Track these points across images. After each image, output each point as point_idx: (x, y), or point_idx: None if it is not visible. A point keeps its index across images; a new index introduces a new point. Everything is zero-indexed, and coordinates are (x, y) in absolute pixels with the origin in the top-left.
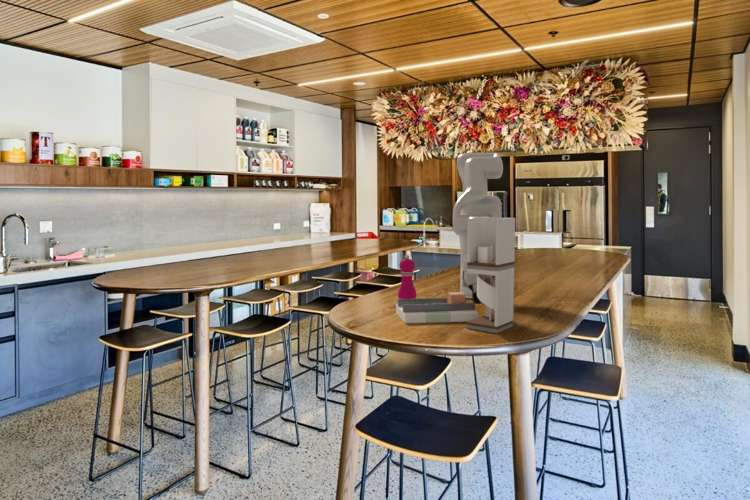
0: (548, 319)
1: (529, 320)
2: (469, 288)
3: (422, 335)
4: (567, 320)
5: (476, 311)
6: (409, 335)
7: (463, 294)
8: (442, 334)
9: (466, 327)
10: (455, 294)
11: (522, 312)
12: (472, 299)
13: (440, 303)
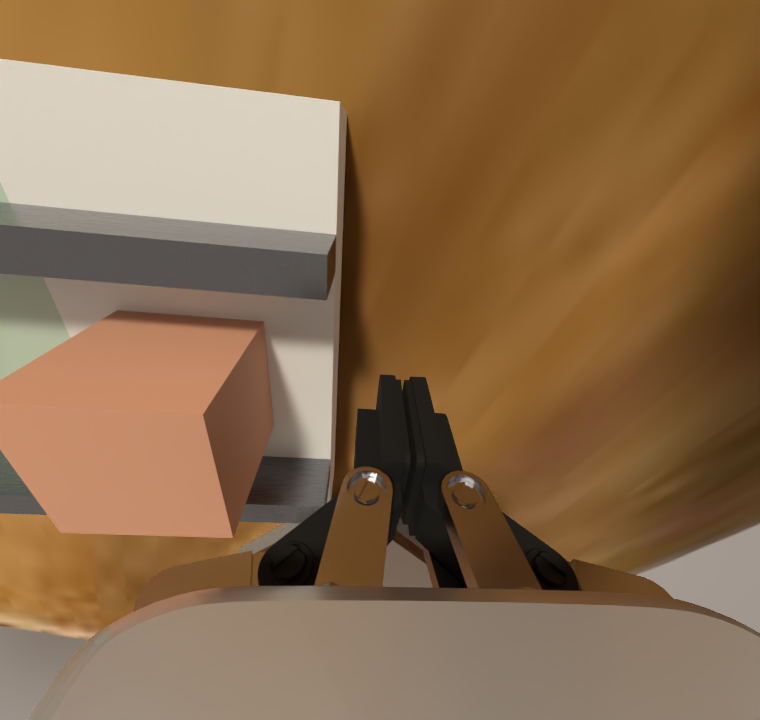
0: (690, 495)
1: (590, 496)
2: (298, 536)
3: (57, 587)
4: (742, 518)
5: (327, 500)
6: (4, 582)
7: (211, 536)
8: (135, 586)
9: (240, 550)
10: (112, 527)
11: (755, 338)
12: (357, 417)
13: (15, 499)
